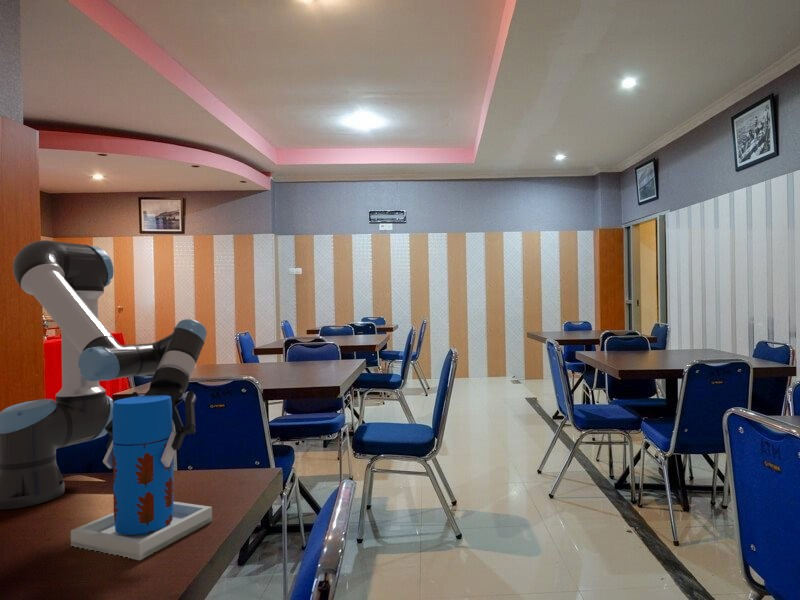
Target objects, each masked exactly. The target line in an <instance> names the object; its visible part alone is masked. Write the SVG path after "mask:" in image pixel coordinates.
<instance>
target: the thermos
mask: <svg viewBox="0 0 800 600" xmlns="http://www.w3.org/2000/svg"><path fill="white" fill-rule="evenodd" d="M113 403H114V404H113V468H112V471H113V473H112V480H113V484H112V485H113V486H112V487H113V488H112V489H113V513H114V521H115V531H116V532H117V533H120V534H124V535H135V534H143V533H147V532H151V531H155V530H157V529H160V528H163V527H165V526H166V525H168V524H170V522H171V521H172V520H173V501H174V457H173V458H172V461H171V464H170V467H165V466H164V464H163V463H162V461H161V458H162V455H163V453H164V450H165V447H166V445H167V442H168V440H169V437H170V434H171V432H172V431H173V419H172V401H171V396H167V395H150V396H138V397H131V396H129V397H125V398H121V399H117V400H113Z"/></svg>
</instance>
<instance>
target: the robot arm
mask: <svg viewBox="0 0 800 600" xmlns="http://www.w3.org/2000/svg"><path fill="white" fill-rule="evenodd" d="M12 272H13V277H14V279H15V281H16V283H17V284H18V286H19V287H20V288H21V289H22V291H24V292H25V293H26V294H28V295H30V296H33V297H34V298H35V299H36V301H38V303H39V304H40V306H41V307H42V308H43V309H44V310H45V311H46V313H47V314H48V315H49V317H50V318H51V319H52V321H54V323H55V324H56V326H58V328H59V329H60V331H61V332H60V333H61V385H62V386H61V388H60V390H59V391H58V392H56V394H55V400H54V399H52V398H41V399H40V398H39V399H36V400H30V401H24V402H21V403H16V404H13V405H10V406H8V407H6V408H4V409H3V410H1V411H0V510H1V511H3V510H12V509H13V510H14V509H15V510H16V509H22V508H26V507H31V506H36V505H39V504H43V503H47V502H49V501H50V502H51V501H53V500H55V499H57V498H59V497H60V496H62V495H63V494H64V493H65V492H66V491H65V488H66V487H65V486H66V485H65V481H64V478H63V476H62V474H61V471H60V469H59V466H58V464H57V449H60V448H65V447H68V446H72V445H77V444H81V443H85V442H91V441H93V440H96V439H99V438H102V437H104V436H106V435H107V434H109V436H110V438H109V439H108V442H107V444H106V449H107V450H106V451H107V452H106V453H105V455H104V458H103V460H102V463H103V464H104V465H105V466H106V467H107V468H108V469H113V404H114V400H113V398H111V397H110V396H108V395H107V393H106V392H107V391H106V388H104V387H103V386H101V385H100V381H101V382H104V381H105V382H107V381H112V380H117V379H123V378H125V379H126V378H130V377H131V378H132V377H141V378H144V379H150V378H151V380H150V381H151V382H150V383H149V384H150V385H149V388H148V390H147V391H146V392H145V393H138V392H137V391H134V392H132V393H131V395H130V397H138V396H150V395H167V396H171V401H172V423H173V425H174V427H175V430H172V432H171V434H170V437H169V440H168V442H167V445H166V447H165V450H164V453H163V455H162V458H161V461H162V463H163V464H164V466H165V467H170V464H171V461H172V458H173V459H174V455H175V452H176V451H179V450H180V449H181V446H182V443H183V442H184V438H185V437H186V436H187V435H194V434H196V415H195V414H196V412H195V411H196V410H195V405H196V402H197V399H198V398H197V396H196V394H195V393H194V391H193V390H188V392H186V391H187V389H188V386H189V383H190V379H191V378H192V375H193V372H194V370H195V367H196V364H197V362H198V360H199V356H200V355H201V353H202V350H203V347H204V345H205V342H206V338H207V333H208V332H207V329H206V327H205V325H203V324H202V323H201V322H200V321H198V320H196V319H191V318H186V319H181V320H180V321H178V323H176V325H175V327H174V328H173V332H172V333H169V335H167V336H165V337H163V338H161V339H160V340H157V341H155V342H151V343H140V344H139V343H137V344H120V342H119V341H118V340H117V339H116V338H115V337H114V336H113V335H112V334H111V331H109V329H107V327H106V326H105V325H104V324H103V323H102V321H101V320H100V319H99V298H101V296H103V294H104V293H105V288H106V287H107V286H109V285H110V284H111V282H112V279H113V277H114V272H115V271H114V265H113V261H112V258H111V256H110V255H109V254H108V253H107V251H105V250H104V249H102V248H100V247H98V246H92V245H89V244H81V243H71V242H62V241H53V240H48V239H45V240H44V239H43V240H37V241H33V242H30V243H28V244H26V245H24V246H23V247H22V248H21V249H20V250H19V251H18V253H16V255H15V257H14V259H13V263H12ZM183 401H184V413H185V416H184V417H185V425H184V424H183V422H182V419H181V417H180V413H179V410H178V408H177V406H178V405H179V404H180V403H181V402H183Z"/></svg>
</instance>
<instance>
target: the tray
mask: <svg viewBox="0 0 800 600" xmlns="http://www.w3.org/2000/svg"><path fill="white" fill-rule="evenodd" d="M211 522H213V506H207V505H201V504H193V503H187V502H181V501H174V500H173V520H172V521H171V522H170V524H168V525H166V526H165V527H163V528H160V529H157V530H155V531H151V532H147V533H143V534H135V535H124V534H120V533H117V532H116V531H115V521H114V512H111V513H109V514H107V515H105V516H102V517H100V518H97V519H95V520H93V521H90V522H87V523H86V524H83V525H80V526H78V527H75V528H73V529H71V530H70V547H72V546H74V547H73V548H77V547H79V548H78V549H82V548H84V549H83V550H87V549H88V550H87V551H91V550H94V551H93V552H96V551H100V552H99V553H101V552H103V554H106V553H108V554H107V555H111V554H113V555H112V556H116V555H119V556H118V557H120V556H123V557H122V558H125V557H128V558H127V559H130V558H131V560H136V561H141V560H143V559H145V558H147V557H149V556H151V555H153V554H154V552H155V553H157V552H158V551H160V550H162V549H164V548H165V547H167V546H169V545H171V544H172V543H175V542H177V541H178V540H180V539H182V538H184V537H185V536H188V535H189V534H191V533H193V532H195V531H197V530H198V529H200V528H203V527H204V526H206V525H208V524H210V523H211Z"/></svg>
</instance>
